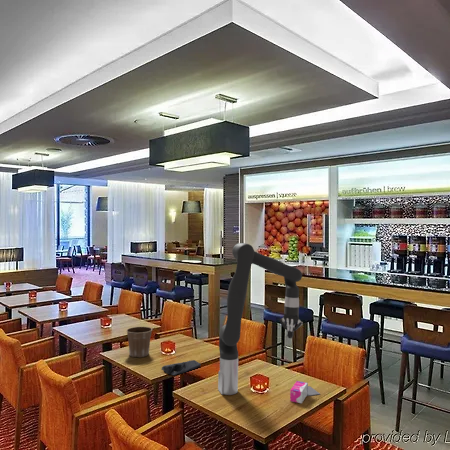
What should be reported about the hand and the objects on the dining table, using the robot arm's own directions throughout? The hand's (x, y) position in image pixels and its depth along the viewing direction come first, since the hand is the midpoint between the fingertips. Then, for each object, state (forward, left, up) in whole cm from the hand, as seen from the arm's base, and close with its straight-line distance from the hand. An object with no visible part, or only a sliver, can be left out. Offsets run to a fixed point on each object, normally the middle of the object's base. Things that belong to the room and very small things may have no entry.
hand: (290, 337), depth 216 cm
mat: (+4, -11, -25) cm, 27 cm away
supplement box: (0, -13, -21) cm, 25 cm away
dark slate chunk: (-50, +38, -25) cm, 68 cm away
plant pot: (-71, +70, -25) cm, 103 cm away
